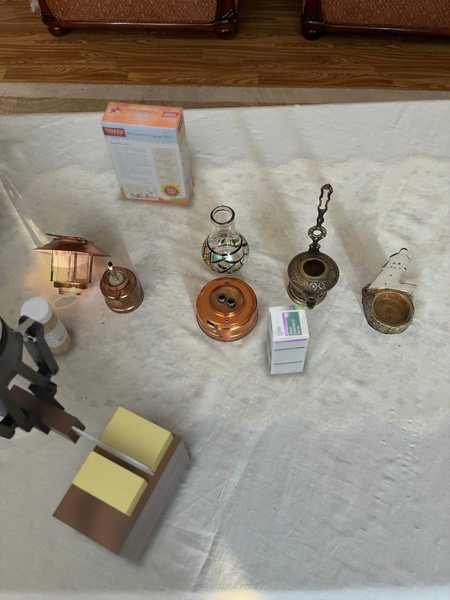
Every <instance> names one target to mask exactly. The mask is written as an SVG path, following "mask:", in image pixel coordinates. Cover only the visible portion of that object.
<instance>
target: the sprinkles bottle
mask: <svg viewBox="0 0 450 600" xmlns="http://www.w3.org/2000/svg"><path fill="white" fill-rule="evenodd" d="M23 315H26V316H28V317H30V318H32V319H34V320H36V321H38V322H40V323H42V324H44V338H45V340H46V342H47V344H48V346H49V348H50V350H51V352H52V354H56V355H59V354H62V353H65V352H66V351H67V350H68V349H70V346H72V339H73V338H72V337H71V335H70V334H69V332H68V330H67V329H66V327H65V326H64V324H63V323H62V321H61V319H59V317H58V316H57V315H56V313H55V311H53V307H52V306H51V304H50V303H49V301H48V300H47V299H46V298H44V297H41V296H34V297H33V296H32V297H31V298H29V299H26V300H25V301H24V303H22V305H21V307H20V317H21V316H23Z"/></svg>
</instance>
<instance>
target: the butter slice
mask: <svg viewBox="0 0 450 600" xmlns="http://www.w3.org/2000/svg"><path fill="white" fill-rule="evenodd" d="M72 483H73V484H74V485H76V486H77V487H79V488H81V489H82V490H84V491H86V492H87V493H89V494H91V495H93V496H94V497H96V498H98V499H100V500H101V501H103V502H105V503H107V504H108V505H110V506H112V507H114V508H115V509H117V510H119V511H121V512H122V513H124V514H126V515H128V516H129V517H130V516H131V514H132V512H133V510H134V509H135V507H136V505H137V503H138V501H139V500H140V498H141V496H142V494H143V492H144V491H145V489H146V487H147V485H148V483H147V482H146V481H145V479H143V478H141V477H140V476H138V475H136V474H134V473H132V472H130V471H129V470H127V469H125V468H123V467H121V466H119V465H118V464H116V463H114V462H112V461H110V460H109V459H107V458H105V457H103V456H101V455H99V454H98V453H96V452H94V451H93V450H91V451H90V453H89V454H88V455H87V457H86V459H85V461H84V462H83V464H82V465H81V466H80V468H79V470H78V472H77V473H76V475H75V477H74V479H73V480H72V482H71V484H72Z"/></svg>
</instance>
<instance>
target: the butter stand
mask: <svg viewBox="0 0 450 600" xmlns="http://www.w3.org/2000/svg"><path fill="white" fill-rule="evenodd" d="M171 434H172V436H173V440H172V442H171V444H170V446H169V447H168V449H167V451H166V453H165V455H164V456H163V458H162V460H161V462H160V464H159V465H158V467H157V469H156V471H155V472H153V471H152V472H153V473H154V475H153V476H152V475H150V474H148V473H146V472H144V471H142V470H141V469H139V468H137V467H135V466H133V465H132V464H130V463H128V462H126V461H124V460H122V459H121V458H119V457H117V456H115V455H113V454H112V453H110V452H108V451H106V450H104V449H102V448H101V447H99V446H97V445H95V446H94V447H93V449H92V451H94V452H96V453H98V454H99V455H101V456H103V457H105V458H107V459H109V460H110V461H112V462H114V463H116V464H118V465H119V466H121V467H123V468H125V469H127V470H129V471H130V472H132V473H134V474H136V475H138V476H140V477H141V478H143V479H145V481H146V482H147V483H148V485H147V487H146V489H145V491H144V492H143V494H142V496H141V498H140V500H139V501H138V503H137V505H136V507H135V509H134V510H133V512H132V514H131V516H130V517H129V516H128V515H126V514H124V513H122V512H121V511H119V510H117V509H115V508H114V507H112V506H110V505H108V504H107V503H105V502H103V501H101V500H100V499H98V498H96V497H94V496H93V495H91V494H89V493H87V492H86V491H84V490H82V489H81V488H79V487H77V486H76V485H74V484H73V483H72V482H71V484H70V486H69V487H68V489H67V491H66V493H65V494H64V496H63V497H62V499H61V500H60V502H59V503H58V505H57V507H56V508H55V510H54V511H53V513H52V515H51V517H53V518H55V519H56V520H58V521H60V522H61V523H63V524H65V525H66V526H68V527H70V528H71V529H73V530H75V531H77V532H78V533H80V534H81V535H83V536H84V537H86V538H87V539H90V540H91V541H93V542H94V543H97V544H98V545H100V546H101V547H103V548H105V549H106V550H108V551H110V552H111V553H113V554H114V555H116V556H118V557H121V558H124V559H128V560H130V561H133V562H139V559H140V558H141V556H142V555H143V552H144V550H145V548H146V546H147V544H148V543H149V541H150V539H151V537H152V536H153V533H154V531H155V529H156V528H157V526H158V524H159V522H160V520H161V519H162V516H163V514H164V512H165V510H166V509H167V507H168V505H169V503H170V501H171V500H172V497H173V496H174V494H175V492H176V490H177V488H178V486H179V484H180V482H181V480H182V479H183V476H184V475H185V473H186V471H187V469H188V467H189V465H190V464H191V461H192V460H191V458H190V455H189V453H188V451H187V447H186V445H185V443H184V440H183V438H182V437H180V436H179V435H176V434H174V433H172V432H171Z"/></svg>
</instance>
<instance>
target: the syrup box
mask: <svg viewBox="0 0 450 600" xmlns="http://www.w3.org/2000/svg"><path fill="white" fill-rule="evenodd" d="M305 306H306V305H305V304H304V303H303V304H288V305H279V306H271V307H269V308H268V315H267V334H266V352H267V358H268V366H269V374H271V375H278V374H289V373H300V372H301V373H302V372H303V370H304V366H305V362H306V357H307V352H308V346H309V341H310V330H309V325H308V319H307V312H306V307H305Z"/></svg>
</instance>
